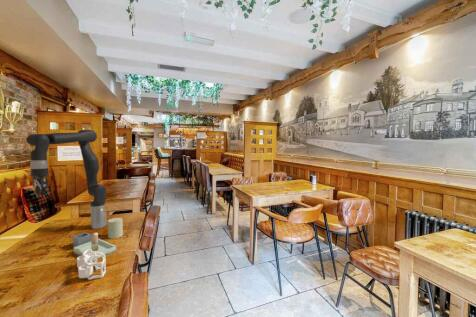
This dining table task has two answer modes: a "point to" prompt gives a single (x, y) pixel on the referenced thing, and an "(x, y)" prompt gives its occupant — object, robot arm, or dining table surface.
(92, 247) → the dowel pin
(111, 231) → the can
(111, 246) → the tray
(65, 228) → the dining table surface
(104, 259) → the white wireframe roller cage
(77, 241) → the deep cup
